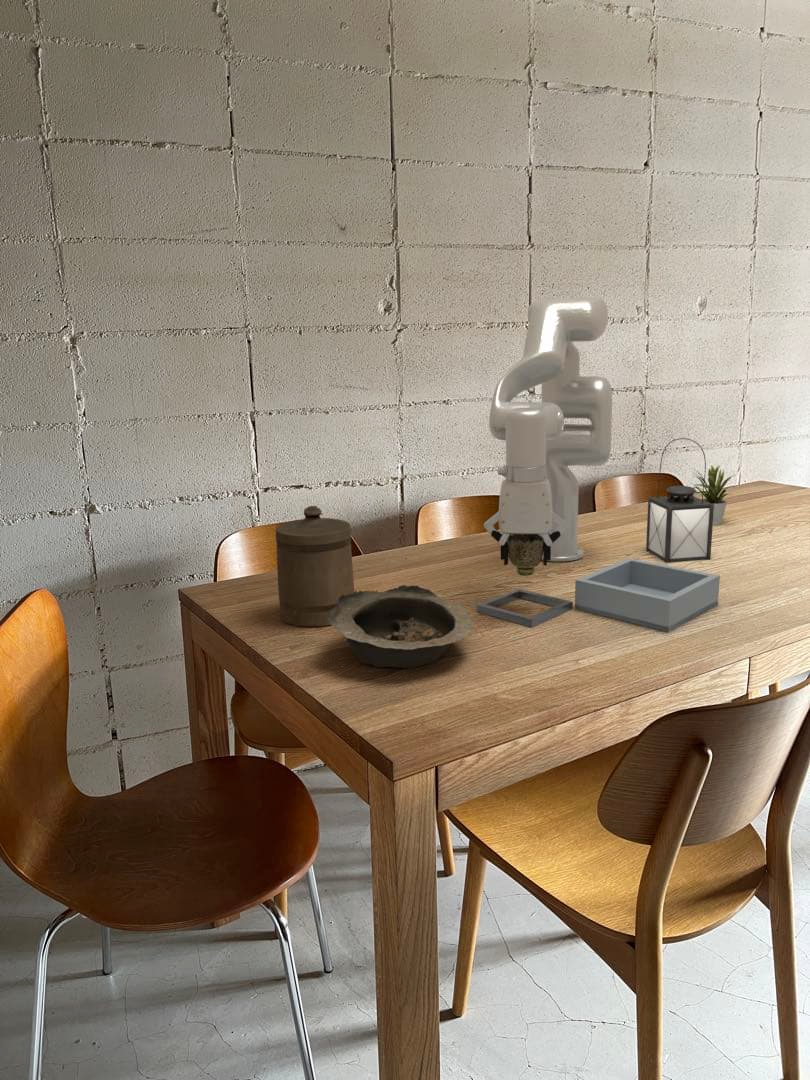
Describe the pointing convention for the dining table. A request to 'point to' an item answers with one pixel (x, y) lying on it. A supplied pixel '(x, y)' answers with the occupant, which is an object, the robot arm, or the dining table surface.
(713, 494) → the house plant
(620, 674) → the dining table surface
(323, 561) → the wooden container
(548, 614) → the square metal frame
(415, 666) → the stone bowl
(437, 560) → the dining table surface
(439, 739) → the dining table surface
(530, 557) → the dark bronze rounded piece
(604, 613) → the bin
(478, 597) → the dining table surface
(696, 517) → the lantern
